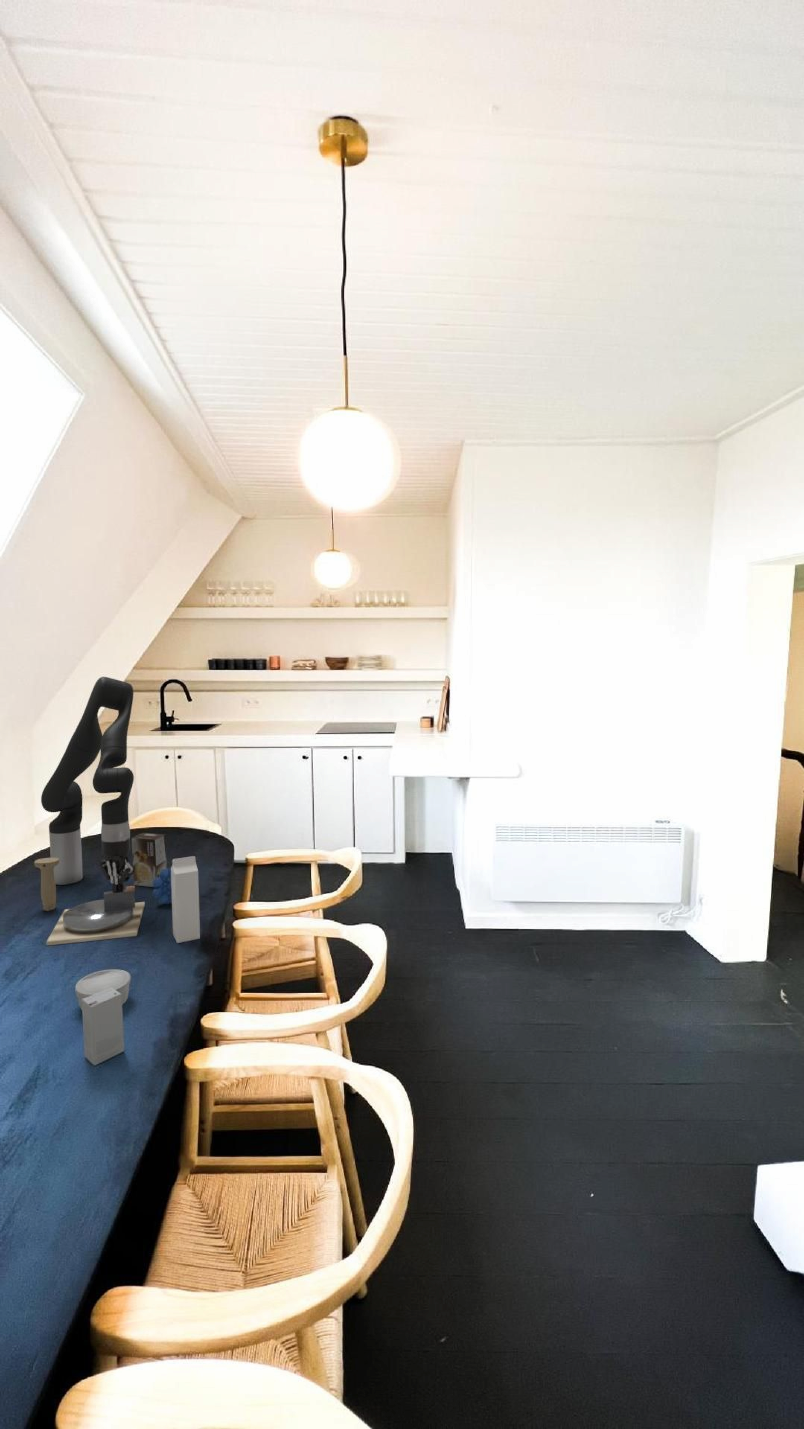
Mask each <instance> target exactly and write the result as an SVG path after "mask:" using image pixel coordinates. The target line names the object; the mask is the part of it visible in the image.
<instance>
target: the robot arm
mask: <svg viewBox="0 0 804 1429" xmlns="http://www.w3.org/2000/svg"><path fill="white" fill-rule="evenodd" d="M133 701H134V688H133V686H132V684H130V683H129V682H127V681H123V680H119V679H116V678H112V677H107V676H101V677H99V678H98V679H97V680H96V682H95V684H94V685H93V688H92V690H91V692H90V695H89V698H88V701H87V703H86V706H85V708H84V712H83V713H82V715H81V718H80V720H79V722H78V724H77V726H76V728H75V730H74V732H73V733H72V736H71V738H70V739H69V741H68V744H67V747H66V749H65V750H64V753H63V755H62V757H61V758H60V761H59V762H58V765H57V766H56V768H55V771H54V772H53V774H52V775H51V776H50V778H49V780H48V782H46V784H45V786H44V788H43V790H42V792H41V795H40V803H41V807H42V808H43V809H44V811H46V812H48V813H58V815H57V816H56V817H55V818H54V819H52V821H50V822H49V824H48V834H49V836H48V837H49V851H50V852H49V853H50V854H49V855H50V858H59V864H58V865H56V866H55V867H54V878H55V885H59V886H62V885H63V886H65V885H71V884H75V883H79V882H80V881H82V879H83V878H84V877H83V875H84V874H83V855H82V853H83V852H82V836H81V834H82V832H81V823H82V821H83V792H82V789H81V786H80V785H79V783H77V781H75V780H76V779H78V778H79V776H81V775H82V774H83V773H85V771H86V770H88V768H89V767H91V765H93V763H94V762H95V760H96V759H97V757H98V756H99V754H100V758H99V761H98V764H97V767H96V769H95V771H94V774H93V777H92V787H93V788H94V790H95V792H97V793H98V794H102V795H103V794H113V793H114V794H115V793H120V795H119V796H118V797H116V798H114V799H113V798H112V799H110V800H107V801H104V802H102V804H101V810H100V811H101V827H100V828H101V829H100V834H101V835H100V836H101V838H100V839H101V854H102V855H103V856H104V860H102V861H99V862H98V865H99V867H100V869H101V871H102V873H103V875H104V877H105V879H106V880H107V881H110V883H111V884H112V885H111V886H112V887H111V888H112V891H117V890H124V883H125V882H128V881H129V880H130V879H131V877H132V875H133V872H134V870H135V866H133V865H132V866H131V864H130V859H129V853H130V852H131V851H132V846H131V828H130V822H129V801H130V795H131V792H132V788H133V785H134V780H135V776H134V773H133V770H131V769H130V768H129V767H121V766H122V765H124V764H125V763H126V762H127V760H128V759H127V757H128V746H127V745H128V730H129V727H130V726H129V725H130V722H131V720H130V719H131V715H132V707H133ZM101 707H102V708H104V709H105V708H106V709H109V710H110V709H111V710H113V711H114V710H115V711H117V712H118V713H117V714H118V715H117V716H116V718H115V720H114V721H113V722H112V723H111V724H110V725H109V726H108V727H107V728H106V729H105V731H104V732H103V733H102V730H101V727H100V723H99V717H98V714H99V710H100V709H101Z"/></svg>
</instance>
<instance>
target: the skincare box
mask: <svg viewBox="0 0 804 1429" xmlns="http://www.w3.org/2000/svg"><path fill="white" fill-rule="evenodd" d="M81 1011H82V1029H83V1046H84V1047H83V1048H84V1058H86V1059H87V1060H88V1062H90V1063H91V1064H92V1065H93V1066H96V1065H99V1064H101V1063H103V1062H105V1061H106V1060H110V1059H111V1058H112V1057H115V1056H117V1055H119V1054H121V1053H123V1052H124V1051H125V1036H124V1035H125V1034H124V1016H123V1014H124V1013H123V1005H122V995H121V994H120V993H119V992H118V991H116V990H115V989H113V988H109V989H106V990H104V991H101V992H99V993H96V994H94V995H92V996H89V997H87V998H84V999H82V1009H81Z"/></svg>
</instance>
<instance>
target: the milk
mask: <svg viewBox="0 0 804 1429" xmlns="http://www.w3.org/2000/svg"><path fill="white" fill-rule="evenodd" d="M196 861H197V860H196V856H194V855H192V856H186V857H179V858H173V859H172V865H171V866H170V870H171V889H172V903H171V911H172V912H171V913H172V916H171V917H172V936H173V937H174V939H175V941H176V944H179V943H183V942H190V941H195V940H199V939H200V938H201V929H200V928H201V926H200V892H199V890H200V889H199V869H198V865H197V862H196Z"/></svg>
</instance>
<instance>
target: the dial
mask: <svg viewBox="0 0 804 1429" xmlns="http://www.w3.org/2000/svg"><path fill="white" fill-rule="evenodd" d="M135 891H136V885H128V886H127V885H126V886H125V889H124V888H123V890H117V891H113V890H110V891H104V892H103V898H102V899H96V900H92V901H86V902H83V903H80V904H78V905H74V906H73V907H71V908H68V909H69V910H68V911H66V912H65V913H64V915H63V926H64V928H65V929H66V930H67V931H70V932H74V933H96V932H102V931H107V930H111V929H114V928H117V927H119V926H122V925H124V924H126V923H127V922H129V921H130V920H131V919H132V918H133V915H134V913H133V908H135V903H136V895H135V893H136V892H135Z"/></svg>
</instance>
